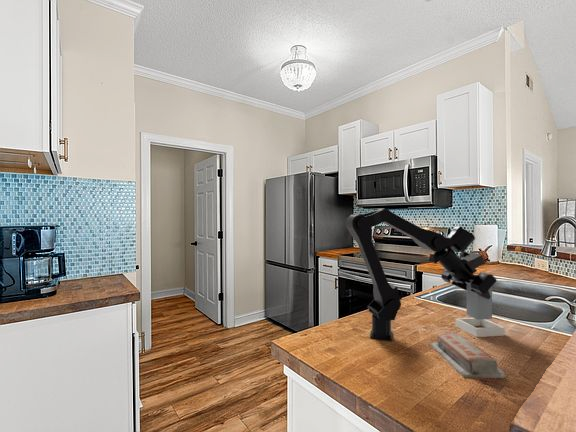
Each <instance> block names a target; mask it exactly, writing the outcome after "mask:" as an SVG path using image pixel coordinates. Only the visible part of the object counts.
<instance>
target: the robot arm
mask: <svg viewBox="0 0 576 432" xmlns="http://www.w3.org/2000/svg"><path fill="white" fill-rule="evenodd" d="M382 223H383V224H385V225H386V226H388V227H390V228H392V229H394V230H395V231H398V232H400V233H401V234H403V235H405V236H407V237H409V238H411V240H412V241H413V242H414V243H415V244H416V245H418V246H419V247H420V248H421V249H423V250H427V251H432V252H433V253H430V254H429V258H428V262H429V263H432V264H438V263H439V264H440V265H441V266H442V268H443V271H442V273H441V279H442V280H443V281H444V282H446V283H449V284H450V283H451V285H453V286H455V287H457V288H460V289H462V290H464V291H465V292H467V283H468V284H469V283H470V282H471V288H472V289H471V291H472V292H474V293H476V294H478V295H480V296H482V297H485V298H487V299H490V297H491V296H490V294H489V291H488V290H489V289H490V288H491V287H492V288H493V285H494V284H495V283H496V282H497V278H496V276H494V275H493V274H490V273H487V272H479V273H478V274H475V273H476V272H477V268H479V267H481V266H484V265H486V261H485V259H484V256H483V254H482V253H480V252H479V253H478V252H467V251H466V250H467V249H468V248H469V247H470V246H471V245H472V243H473V242H474V241H475V240H476V237H475V235H474V234H473V233H472V232H470V231H468V230H467V229H466V228H465V229H464V228H463V226H458V225H457V226H455V227H453V230H452V231H451V232H450V233H449V234H448V235H447V236H444V235H443V234H441V233H439V232H436V231H434V230H429V229H425V228H422V227H419V226H418V225H416V224H415V223H412V222H411V221H409V220H407V219H405V218H403V217H401V216H399V215H397V214H396V213H394V212H392V211H391V210H390V209H389V208H378V209H376V210H374V211H370V212H367V213H362V214H361V213H359V214H350V215H349V216H348V217H347V218H346V221H345V227H346V229H347V231H348V232H349V234H350V235H351V237H352V239H354V242H356V244H357V245H358V248H359V251H360V254H361V256H362V258H363V261H364V264H365V266H366V268H367V272H368V274H369V276H370V279H371V282H372V285H373V288H372V294H373V295H372V296H373V299H372V301H371V302H370V303H369V304H368V305H367V309H368V312H369V313H370V314H371V329H370V335H369V338H370V339H377V340H383V341H393V334H394V333H393V331H392V321H395V319H396V317H397V314H398V311H400V308H401V307H402V300H403V299H402V297H401V296H400V293H399V289H398V287H397V286H395V285H393V284H391V283H389V282H388V279H387V276H386V274H385V271H384V268H383V266H382V264H381V260H380V257H379V254H378V253H377V250H376V247H375V245H374V242H373V227H376V226H378V225H380V224H382ZM457 253H459V255H458V254H457Z"/></svg>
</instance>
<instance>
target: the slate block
mask: <svg viewBox="0 0 576 432" xmlns="http://www.w3.org/2000/svg"><path fill="white" fill-rule="evenodd" d="M471 289H472V288H471V282H470V283H469V284H468V283H467V291H466V315H467V316H469V317H470V318H475V319H477V320H480V319H487V320H492V319H493V286H492V287H491V288H490V289H489V290H488V291H489V294H490V296H491V297H490V299H487V298H485V297H482V296H480V295H478V294H476V293H474V292H472V291H471Z"/></svg>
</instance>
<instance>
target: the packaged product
mask: <svg viewBox="0 0 576 432" xmlns="http://www.w3.org/2000/svg"><path fill="white" fill-rule="evenodd" d="M429 346H431V348H433V349H434V351H436V352H437V353H438V354H439V355H440V356H441V357H442V358H443V359H444V360H445V362H447V363H448V364H449V365H450V366H452V368H453V369H455V371H457V372H458V373H459V374H460V375H461V376H462V377H463V378H473V379H474V378H476V379H478V378H479V379H480V378H482V379H485V378H490V379H491V378H493V379H494V378H495V379H498V378H504V379H505V378H506V372H505V371H503V370H502V368H499V367H498V363H497V359H496V358H494V357H492V356H491V355H489V353H487V352H486V351H484V350H483V349H482V348H480V347H479V346H477V345H476V344H474V342H472V341H470V340H469V339H468V338H466V337H465V336H463V334H461V333H458V332H455V331H451V332H448V333H443V334H440V335H437V338H436V341H434V342H429Z"/></svg>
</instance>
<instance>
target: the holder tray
mask: <svg viewBox="0 0 576 432" xmlns="http://www.w3.org/2000/svg"><path fill="white" fill-rule="evenodd" d="M478 326H479V327H478ZM480 326H481V327H480ZM455 327H457V328H458V329H461V330H463V331H464V332H465V333H466V332H467V333H468V334H470V335H472V336H473V337H476V338H483V337H484V338H485V337H499V336H501V337H503V336H505V333H506V331H505V330H506V328H505V326H502V325H501V324H498V323H495V322H494V321H491V320H490V319H480V320H477V319H475V318H473V317H461V318H455Z"/></svg>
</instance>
